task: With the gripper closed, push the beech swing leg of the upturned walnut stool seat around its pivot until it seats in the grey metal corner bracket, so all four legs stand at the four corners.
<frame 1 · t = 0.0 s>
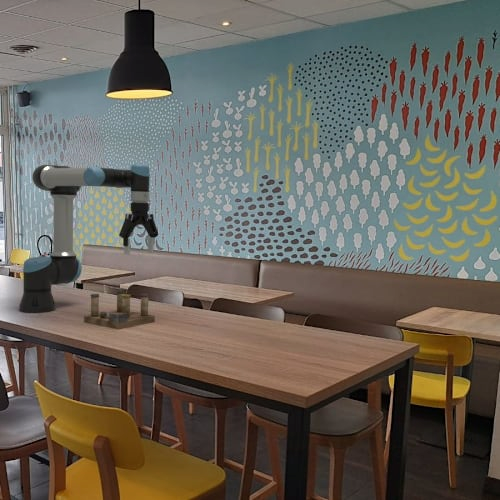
hand: (139, 253, 240), 28 cm above the table, fingers open, 13 cm apart
swing leg: (115, 305, 232), point 7 cm above the table, hinge at 50.0°
stool seat: (119, 321, 236), on the table
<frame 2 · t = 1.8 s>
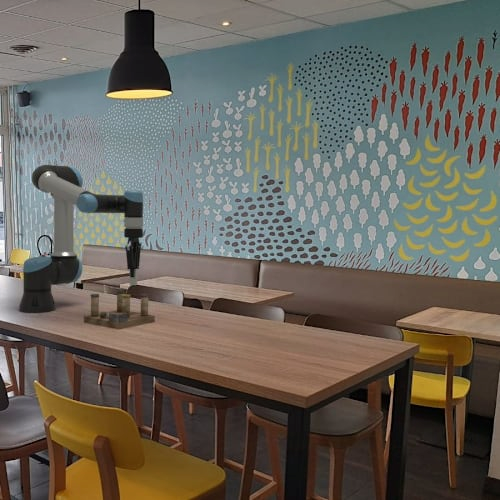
hand: (133, 284, 240), 15 cm above the table, fingers closed
nothing on the table moved.
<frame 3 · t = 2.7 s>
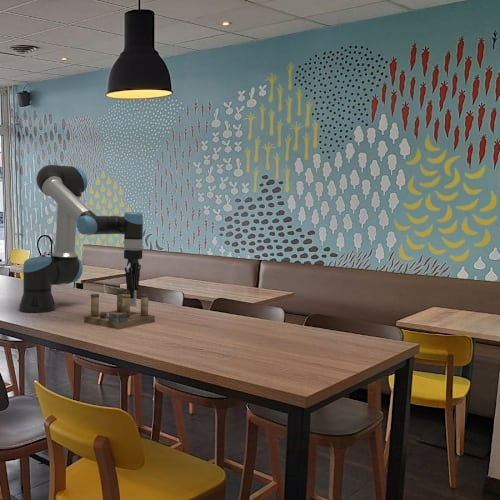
hand: (132, 305, 241), 6 cm above the table, fingers closed
nothing on the table moved.
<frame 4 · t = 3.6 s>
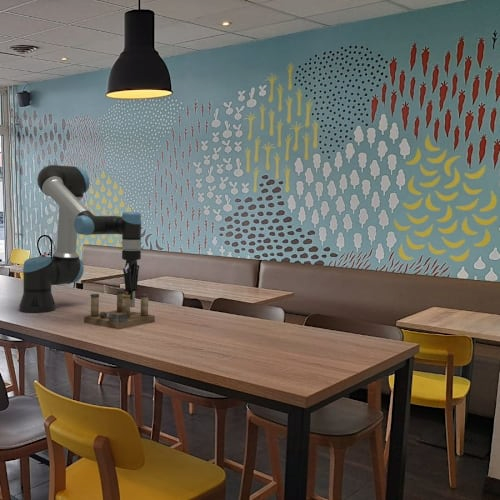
hand: (131, 306, 238), 6 cm above the table, fingers closed
swing leg: (115, 305, 232), point 7 cm above the table, hinge at 47.8°, touching gripper
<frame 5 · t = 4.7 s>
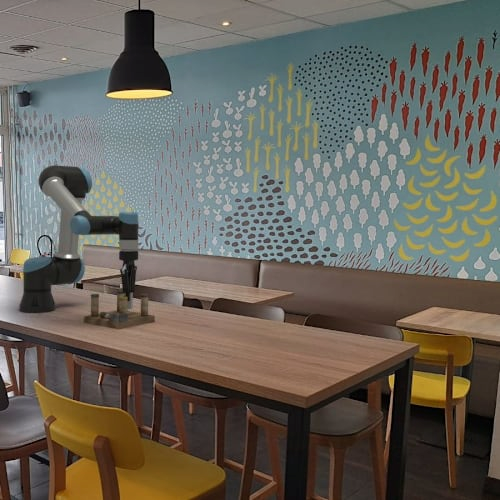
hand: (128, 308, 233), 6 cm above the table, fingers closed
swing leg: (113, 306, 230), point 7 cm above the table, hinge at 16.9°, touching gripper
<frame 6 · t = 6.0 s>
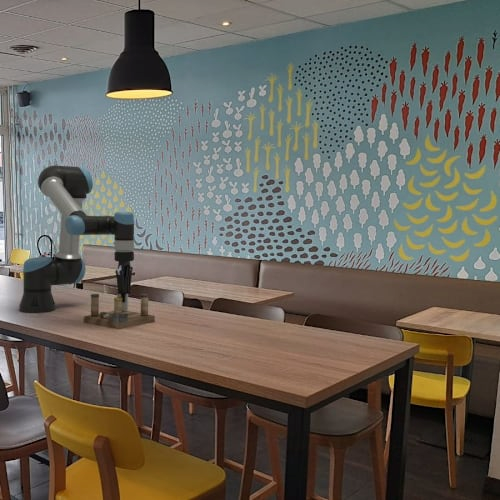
hand: (124, 310, 230), 6 cm above the table, fingers closed
swing leg: (110, 307, 228), point 7 cm above the table, hinge at -3.2°, touching gripper, stool seat
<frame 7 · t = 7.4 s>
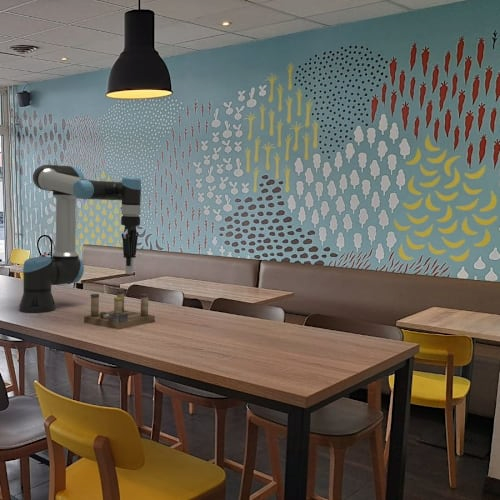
hand: (129, 273, 235), 20 cm above the table, fingers closed
swing leg: (110, 307, 228), point 7 cm above the table, hinge at -3.2°, touching stool seat
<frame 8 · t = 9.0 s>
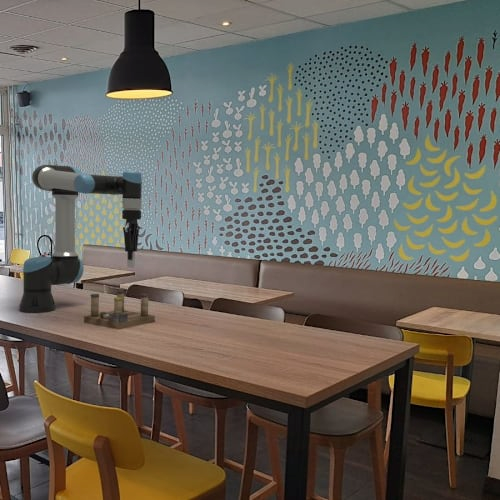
hand: (131, 267, 235), 22 cm above the table, fingers closed
nothing on the table moved.
at the end: swing leg at -3° (first picture: +50°) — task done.
